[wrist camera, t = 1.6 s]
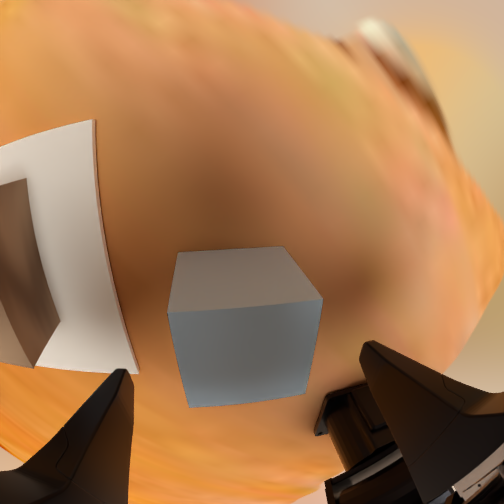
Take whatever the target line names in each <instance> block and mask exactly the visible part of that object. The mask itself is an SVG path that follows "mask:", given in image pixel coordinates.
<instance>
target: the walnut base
mask: <svg viewBox="0 0 504 504" xmlns="http://www.w3.org/2000/svg"><path fill="white" fill-rule="evenodd" d="M60 322H61V321H60V318H59V316H58V313H57V310H56V307H55V305H54V302H53V299H52V296H51V293H50V290H49V287H48V283H47V280H46V277H45V273H44V270H43V266H42V262H41V258H40V254H39V250H38V246H37V242H36V237H35V232H34V227H33V222H32V216H31V210H30V203H29V196H28V187H27V178H24V179H20V180H17V181H13V182H10V183H6V184H3V185H0V362H3V363H7V364H12V365H17V366H22V367H28V368H33V369H34V367H35V365H36V363H37V361H38V359H39V357H40V356H41V354H42V352H43V350H44V348H45V347H46V345H47V343H48V341H49V340H50V338H51V336H52V335H53V333H54V331H55V330H56V328H57V326H58V325H59V323H60Z"/></svg>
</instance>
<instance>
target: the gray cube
mask: <svg viewBox="0 0 504 504" xmlns="http://www.w3.org/2000/svg"><path fill="white" fill-rule="evenodd" d="M322 305H323V298H322V296H321V295H320V294H319V292H318V291H317V290H316V288H315V287H314V286H313V284H312V283H311V282H310V280H309V279H308V278H307V277H306V275H305V274H304V273H303V271H302V270H301V269H300V267H299V266H298V265H297V263H296V262H295V261H294V260H293V258H292V257H291V256H290V254H289V253H288V252H287V251H286V249H285V248H284V247H283V246H276V247H258V248H241V249H224V250H207V251H190V252H178V255H177V260H176V265H175V270H174V276H173V281H172V286H171V292H170V298H169V304H168V310H167V314H168V320H169V325H170V330H171V335H172V340H173V344H174V349H175V353H176V358H177V362H178V366H179V371H180V375H181V379H182V383H183V386H184V390H185V394H186V398H187V401H188V405H189V408H191V407H210V406H223V405H234V404H243V403H252V402H259V401H266V400H273V399H279V398H285V397H290V396H296V395H301V394H305V392H306V388H307V383H308V379H309V374H310V370H311V365H312V360H313V355H314V350H315V345H316V339H317V334H318V328H319V323H320V317H321V311H322Z"/></svg>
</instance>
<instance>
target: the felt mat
mask: <svg viewBox="0 0 504 504" xmlns="http://www.w3.org/2000/svg"><path fill="white" fill-rule="evenodd" d="M24 178H27V187H28V196H29V203H30V210H31V216H32V222H33V227H34V232H35V237H36V242H37V246H38V250H39V254H40V258H41V262H42V266H43V270H44V273H45V277H46V280H47V283H48V287H49V290H50V293H51V296H52V299H53V302H54V305H55V307H56V310H57V313H58V316H59V318H60V321H61V322H60V323H59V325H58V326H57V328H56V330H55V331H54V333H53V335H52V336H51V338H50V340H49V341H48V343H47V345H46V347H45V348H44V350H43V352H42V354H41V356H40V357H39V359H38V361H37V363H36V365H35V366H42V367H49V368H57V369H65V370H75V371H86V372H99V373H112V372H113V371H114V370H115V369H117V368H125V369H127V370H128V372H129V374H139V371H140V369H139V366H138V363H137V360H136V358H135V355H134V352H133V349H132V346H131V343H130V339H129V336H128V333H127V330H126V326H125V323H124V320H123V316H122V312H121V309H120V305H119V301H118V297H117V293H116V289H115V285H114V281H113V276H112V272H111V267H110V262H109V257H108V252H107V246H106V240H105V234H104V228H103V221H102V214H101V206H100V198H99V188H98V177H97V162H96V137H95V120H93V119H91V120H86V121H82V122H78V123H73V124H69V125H65V126H62V127H58V128H54V129H51V130H47V131H44V132H41V133H38V134H34V135H31V136H28V137H25V138H22V139H20V140H17V141H14V142H11V143H9V144H6V145H4V146H1V147H0V185H3V184H6V183H10V182H13V181H17V180H20V179H24Z"/></svg>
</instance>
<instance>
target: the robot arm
mask: <svg viewBox="0 0 504 504" xmlns="http://www.w3.org/2000/svg"><path fill="white" fill-rule="evenodd" d="M359 361H360V364H361V367H362V370H363V372H364V375H365V377H366V380H367V383H366V384H363V385H360V386H356V387H353V388H349V389H346V390H342V391H338V392H334V393H331V394H329V395H327V396H326V398H325V400H324V403H323V406H322V409H321V412H320V415H319V418H318V421H317V424H316V427H315V430H314V434H315V436H320V435H324V434H328V433H329V435H330V437H331V439H332V442H333V444H334V446H335V448H336V451H337V453H338V455H339V457H340V459H341V462H342V464H343V466H344V468H345V471H346V472H345V473H343V474H340V475H339V476H336V477H334V478H330V479H328V480H326V481H324V482H325V487H326V489H325V492H326V497H327V502H328V504H504V392H501V393H489V392H485V391H482V390H480V389H477V388H474V387H471V386H469V385H466V384H463V383H461V382H458V381H456V380H453V379H451V378H449V377H447V376H445V375H443V374H441V373H439V372H437V371H435V370H432V369H430V368H428V367H426V366H424V365H422V364H420V363H418V362H416V361H414V360H412V359H410V358H408V357H406V356H404V355H402V354H400V353H398V352H396V351H394V350H392V349H390V348H388V347H386V346H384V345H382V344H380V343H378V342H376V341H374V340H372V341H368V342H365V343H364V344H363V347H362V350H361V353H360V357H359ZM133 425H134V384H133V381H132V379H131V376H130V374H129V372H128V370H127V369H125V368H117V369H115V370H114V371H113V372H112V373H111V374H110V376H109V377H108V378H107V379H106V380H105V381H104V382H103V383H102V384H101V385H100V386H99V387H98V388H97V390H96V391H95V392H94V393H93V394H92V395H91V396H90V397H89V398H88V399H87V400H86V402H85V403H84V404H83V405H82V406H81V407H80V408H79V409H78V410H77V411H76V413H75V414H74V415H73V416H72V417H71V418H70V419H69V420H68V421H67V423H66V424H65V425H64V427H62V428H61V429H60V430H59V431H58V433H57V434H56V435H55V436H54V437H53V438H52V439H51V440H50V441H49V442H48V443H47V444H46V445H45V446H44V447H43V448H41V449H40V450H39V451H38V452H37V453H36V454H35V455H34V456H32V457H31V458H30V459H29V460H28V461H27V462H26V463H24V464H23V465H22V466H21V467H19V468H17V469H14V470H9V471H0V504H128V485H129V468H130V455H131V444H132V435H133ZM452 486H454V487H455V489H456V491H455V492H454V490H453V488H452Z"/></svg>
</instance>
